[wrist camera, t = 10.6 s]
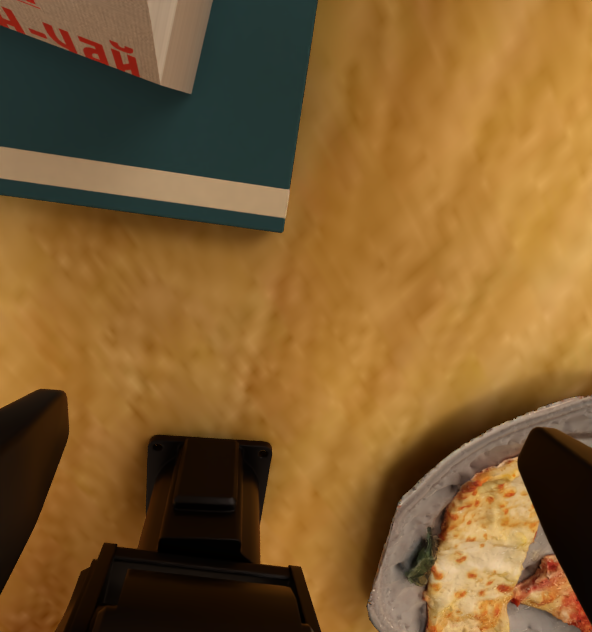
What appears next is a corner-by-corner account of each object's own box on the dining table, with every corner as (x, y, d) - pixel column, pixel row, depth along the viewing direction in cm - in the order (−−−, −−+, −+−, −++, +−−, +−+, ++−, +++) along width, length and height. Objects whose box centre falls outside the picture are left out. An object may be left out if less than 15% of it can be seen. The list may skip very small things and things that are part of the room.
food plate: (618, 639, 36) (653, 690, 33) (339, 650, 33) (349, 707, 30) (791, 380, 26) (866, 417, 23) (412, 361, 23) (438, 401, 20)
